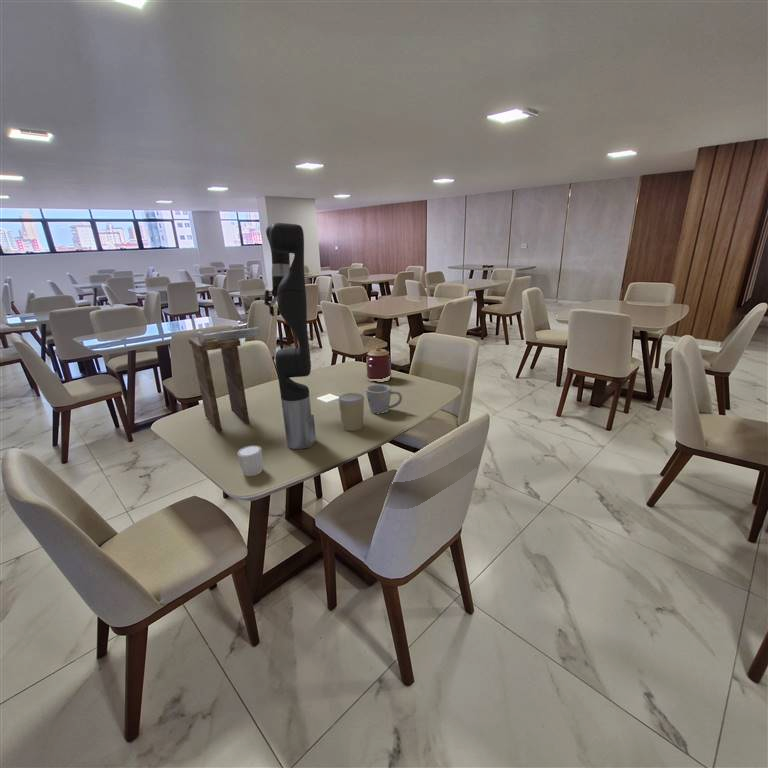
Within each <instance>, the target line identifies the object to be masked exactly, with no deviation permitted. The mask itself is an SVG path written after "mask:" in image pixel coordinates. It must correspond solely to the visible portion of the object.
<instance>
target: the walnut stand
mask: <svg viewBox="0 0 768 768" xmlns="http://www.w3.org/2000/svg"><path fill="white" fill-rule="evenodd" d="M188 342H189V343H188V344H189V345H191V349H192V355H193V359H194V365H195V369H196V375H197V379H198V380H197V381H198V385H199V389H200V395H201V400H202V406H203V410H204V416H205V418H206V417H207V418H206V420H207V421H208V420H209V421H210V422H209V421H208V422H209V424H210V425H211V424H212V425H211V426H212V427H213V429H214V428H215V429H214V430H215V431H216V432H218V430H219V431H222V423H221V417H220V412H219V405H218V401H217V397H216V392H215V385H214V379H213V375H212V369H211V363H210V359H209V352H208V351H215V350H221V356H222V357H221V358H222V361H223V362H222V363H223V368H224V375H225V379H226V385H227V391H228V398H229V402H230V403H229V404H230V408H231V412H232V411H233V412H234V413H235V414H236V415H237V416H238V417H239V418H240V419H241V420H240V421H241V422H242V423H243V424H244V423H245V424H248V422H249V423H250V418H249V411H248V405H247V399H246V392H245V386H244V380H243V379H244V378H243V374H242V367H241V360H240V355H239V349H238V348H239V347H240V346H241V340H240V339H234V340H227V341H220V342H218V340H212V341H205V344H200V343H199V341H198V336H197V337H188ZM233 412H232V413H233ZM234 413H233V414H234ZM235 414H234V415H235ZM236 415H235V416H236ZM237 416H236V417H237ZM238 417H237V418H238ZM239 418H238V419H239Z"/></svg>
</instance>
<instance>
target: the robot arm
mask: <svg viewBox="0 0 768 768" xmlns="http://www.w3.org/2000/svg"><path fill="white" fill-rule="evenodd" d="M265 233H266V237H267V240H268V243H269V248H270V251H271V279H272V281H271V282H272V285H271V286H272V290H268V289H265V290H264V299H263V300H264V303H263V304H264V305H265V306H268V307H269V314H270V315H271V317H274V316H275V307H274V305H275V304H276V302H277V309H278V312H279V314H280V315H281V318H283V320H284V321H285V323H287V325H288V326H289V328H290V329H291V331H292V332H293V334H294V335H295V338H296V339H297V340H296V341H297V342H298V348H283V349H278V350H277V351H276V352H275V355H274V356H275V357H274V363H275V367H276V374H277V379H278V386H279V393H280V399H281V409H282V417H283V423H284V424H283V425H284V431H285V440H286V446H287V448H289V449H293V450H301V449H305V448H309V449H310V448H311V447H312V446H313V445H314V443H315V442H317V441H316V440H317V434H316V427H315V426H316V425H315V415H314V414H312V408H311V396H310V389H309V387H308V386H307V385H306V384H303V383H299V382H296V381H294V380H293V379H291V378H301V377H305V378H306V377H308V376H310V374H311V373H312V372H311V371H312V363H311V362H312V361H311V350H310V342H309V336H308V335H309V332H308V315H307V312H308V311H307V310H308V309H307V306H308V305H307V292H306V281H305V280H306V279H305V236H304V233H305V232H304V229H303V227H302V226H301V225H300V224H297V223H284V222H283V223H282V222H275V223H272V224H268V226H266V229H265ZM290 254H294V257H293V260H292V262H291V261H290ZM290 262H291V263H290ZM290 264H291V265H290ZM271 295H272V296H273V298H272V299H271V301H270V298H269V297H270V296H271ZM269 301H270V302H269Z"/></svg>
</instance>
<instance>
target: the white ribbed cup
mask: <svg viewBox="0 0 768 768" xmlns="http://www.w3.org/2000/svg"><path fill="white" fill-rule="evenodd" d="M262 452H263V449H262V447H261V446H259V445H247V446H244V447H241V448H240V449H239V450H237V456H238V457H237V458H238V461H239V465H240V468H241V470H242V474H243V475H244V476H246V477H254V476H257V475H260V474H261V473H262V471H263V457H262V456H263V453H262Z"/></svg>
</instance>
